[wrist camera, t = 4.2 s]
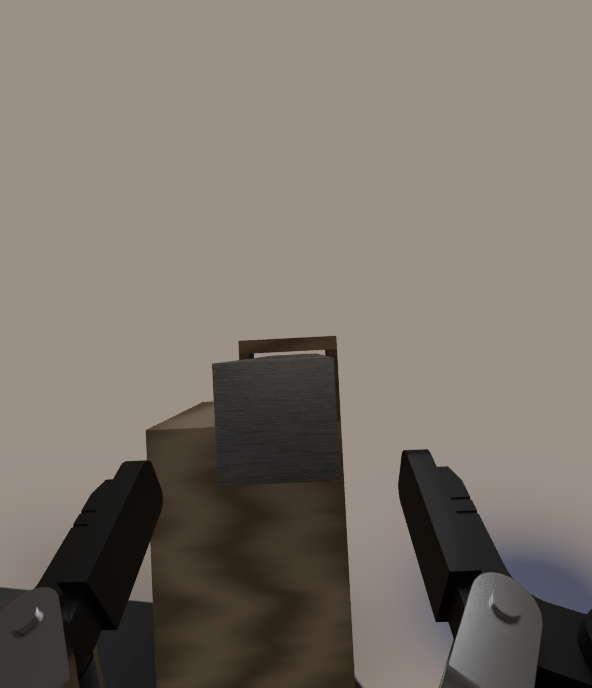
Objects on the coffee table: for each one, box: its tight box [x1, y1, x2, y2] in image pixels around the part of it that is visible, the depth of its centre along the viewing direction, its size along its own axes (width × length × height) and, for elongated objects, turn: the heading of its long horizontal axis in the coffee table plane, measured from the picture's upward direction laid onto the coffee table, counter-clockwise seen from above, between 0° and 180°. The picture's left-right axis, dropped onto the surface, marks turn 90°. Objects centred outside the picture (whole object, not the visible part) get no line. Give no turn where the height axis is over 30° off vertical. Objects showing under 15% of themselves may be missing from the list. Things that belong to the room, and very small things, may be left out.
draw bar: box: [212, 354, 340, 486], centre depth 22 cm, size 4×22×4 cm, turn 178°
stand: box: [146, 336, 355, 688], centre depth 27 cm, size 12×12×37 cm
